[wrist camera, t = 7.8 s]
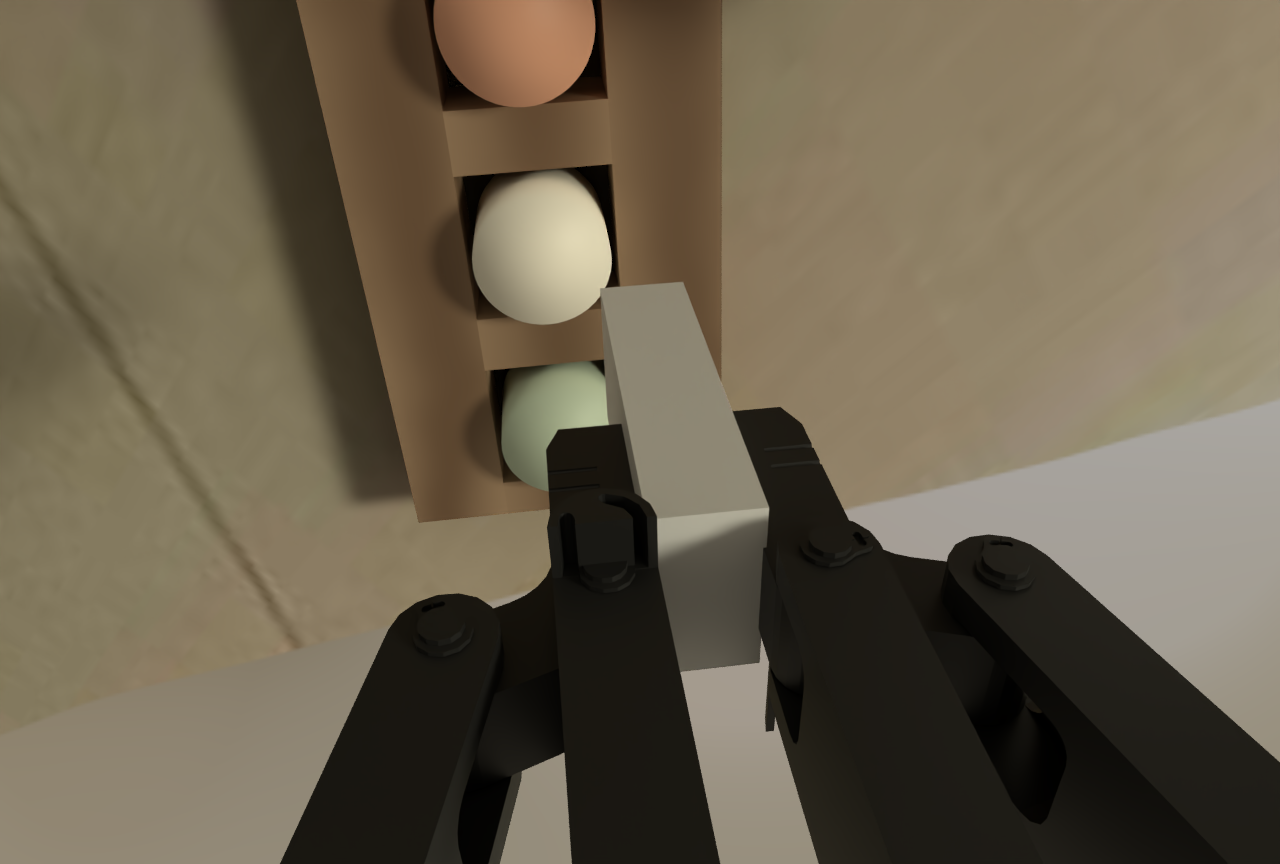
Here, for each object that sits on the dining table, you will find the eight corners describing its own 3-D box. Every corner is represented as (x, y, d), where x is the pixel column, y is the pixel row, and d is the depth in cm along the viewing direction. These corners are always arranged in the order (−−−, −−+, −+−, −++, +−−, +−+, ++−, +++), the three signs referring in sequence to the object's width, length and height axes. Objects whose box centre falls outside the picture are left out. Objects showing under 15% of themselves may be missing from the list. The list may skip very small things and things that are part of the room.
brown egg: (455, 83, 29) (448, 112, 26) (431, -74, 27) (420, -60, 24) (592, 72, 30) (600, 100, 27) (581, -84, 27) (588, -71, 24)
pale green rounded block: (510, 443, 37) (509, 498, 34) (495, 347, 35) (493, 397, 32) (619, 432, 38) (627, 486, 35) (612, 336, 35) (620, 385, 32)
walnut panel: (425, 477, 39) (418, 522, 36) (288, -139, 26) (264, -135, 24) (708, 448, 39) (720, 490, 37) (703, -164, 27) (721, -162, 25)
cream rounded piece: (486, 284, 33) (482, 330, 30) (467, 163, 31) (461, 201, 28) (607, 273, 34) (615, 318, 31) (598, 153, 31) (606, 188, 28)
